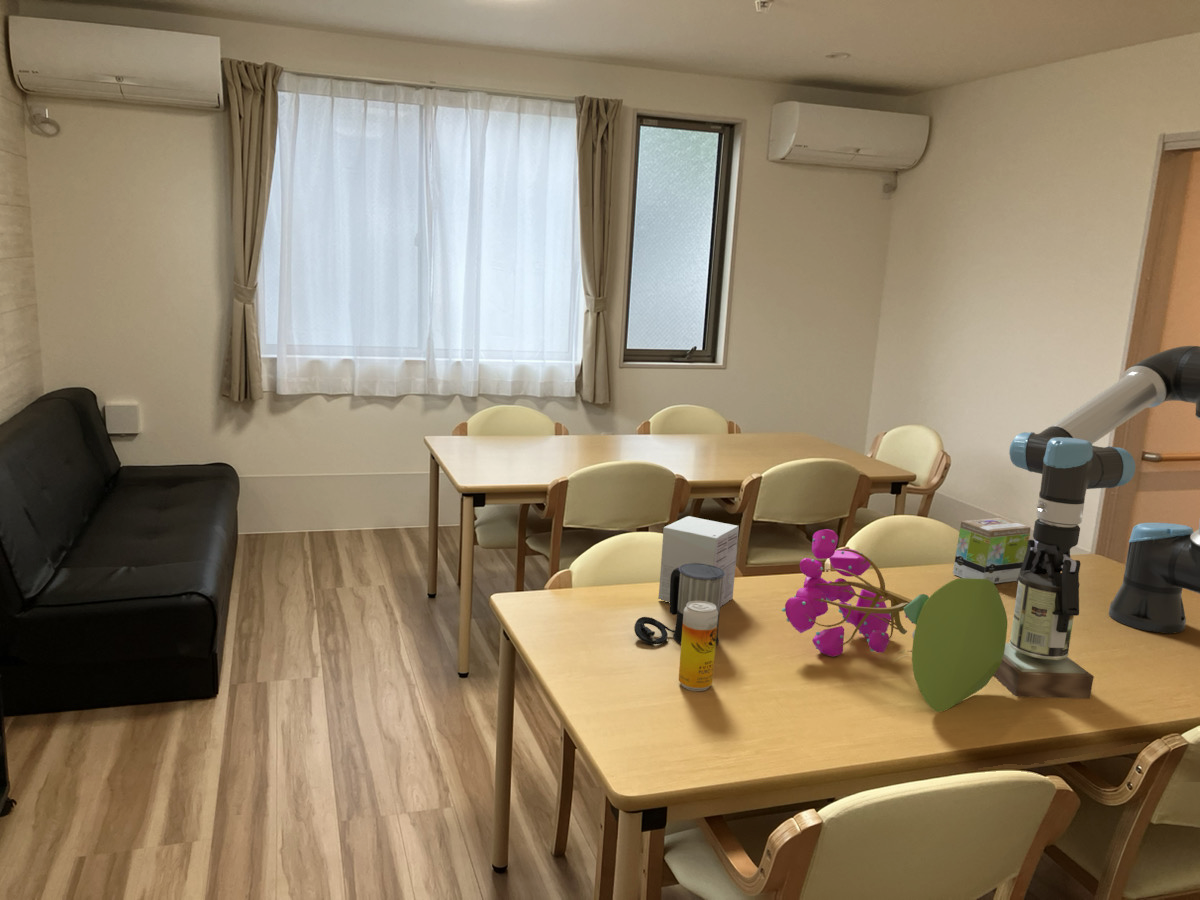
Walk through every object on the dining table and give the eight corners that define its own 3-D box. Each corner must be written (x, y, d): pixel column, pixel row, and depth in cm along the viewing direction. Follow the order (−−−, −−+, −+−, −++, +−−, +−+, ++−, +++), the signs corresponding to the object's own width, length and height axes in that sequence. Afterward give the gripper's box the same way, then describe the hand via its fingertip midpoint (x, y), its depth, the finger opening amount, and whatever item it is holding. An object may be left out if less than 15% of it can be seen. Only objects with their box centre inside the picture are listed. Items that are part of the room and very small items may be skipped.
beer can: (703, 695, 159) (709, 614, 156) (672, 686, 162) (678, 606, 159) (717, 683, 164) (724, 605, 161) (687, 674, 167) (693, 597, 164)
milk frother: (728, 641, 184) (734, 571, 181) (679, 661, 172) (684, 587, 170) (674, 620, 193) (679, 553, 191) (624, 638, 182) (628, 568, 179)
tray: (1049, 666, 180) (1052, 642, 179) (1089, 698, 166) (1094, 673, 165) (980, 664, 179) (983, 640, 178) (1015, 696, 165) (1019, 670, 164)
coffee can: (1059, 642, 176) (1070, 572, 173) (1075, 663, 166) (1087, 590, 163) (1002, 635, 177) (1012, 566, 175) (1015, 656, 168) (1026, 583, 165)
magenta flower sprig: (926, 541, 153) (778, 519, 183) (899, 709, 151) (753, 660, 180) (1024, 564, 170) (874, 540, 199) (1001, 716, 168) (852, 670, 197)
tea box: (983, 587, 227) (991, 530, 224) (951, 574, 236) (959, 519, 233) (1023, 581, 234) (1032, 525, 231) (991, 569, 243) (998, 515, 240)
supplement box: (734, 598, 209) (740, 525, 205) (710, 615, 198) (717, 538, 194) (682, 586, 215) (687, 515, 212) (656, 601, 204) (662, 526, 201)
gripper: (1007, 505, 178) (992, 612, 182) (1072, 538, 155) (1053, 660, 160) (1045, 507, 178) (1028, 614, 182) (1114, 540, 156) (1094, 661, 160)
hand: (1040, 635), depth 171 cm, fingers closed on coffee can, 10 cm apart
